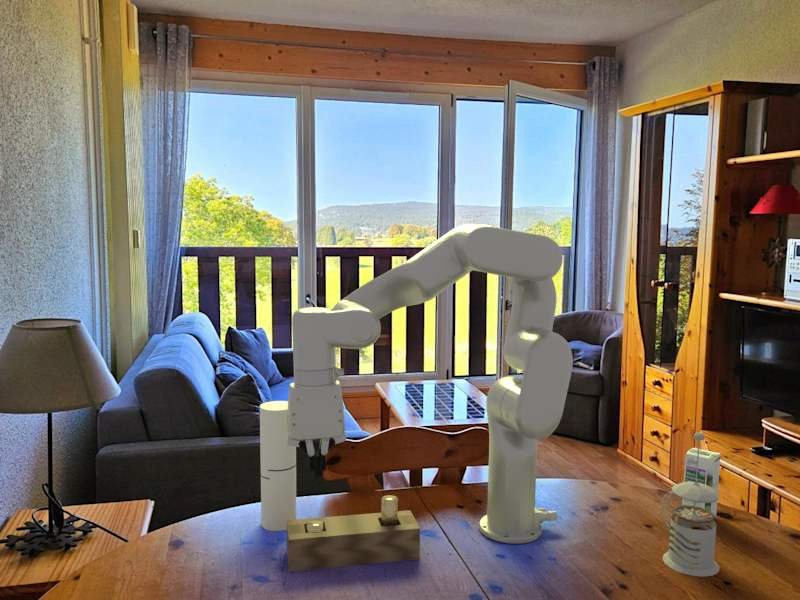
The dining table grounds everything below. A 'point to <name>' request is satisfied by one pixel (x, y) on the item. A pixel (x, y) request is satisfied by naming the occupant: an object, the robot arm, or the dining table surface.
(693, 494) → the french press
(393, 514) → the inner brass pin
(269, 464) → the cylindrical container
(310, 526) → the outer brass pin
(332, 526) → the tan peg holder block
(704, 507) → the syrup box
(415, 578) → the dining table surface
